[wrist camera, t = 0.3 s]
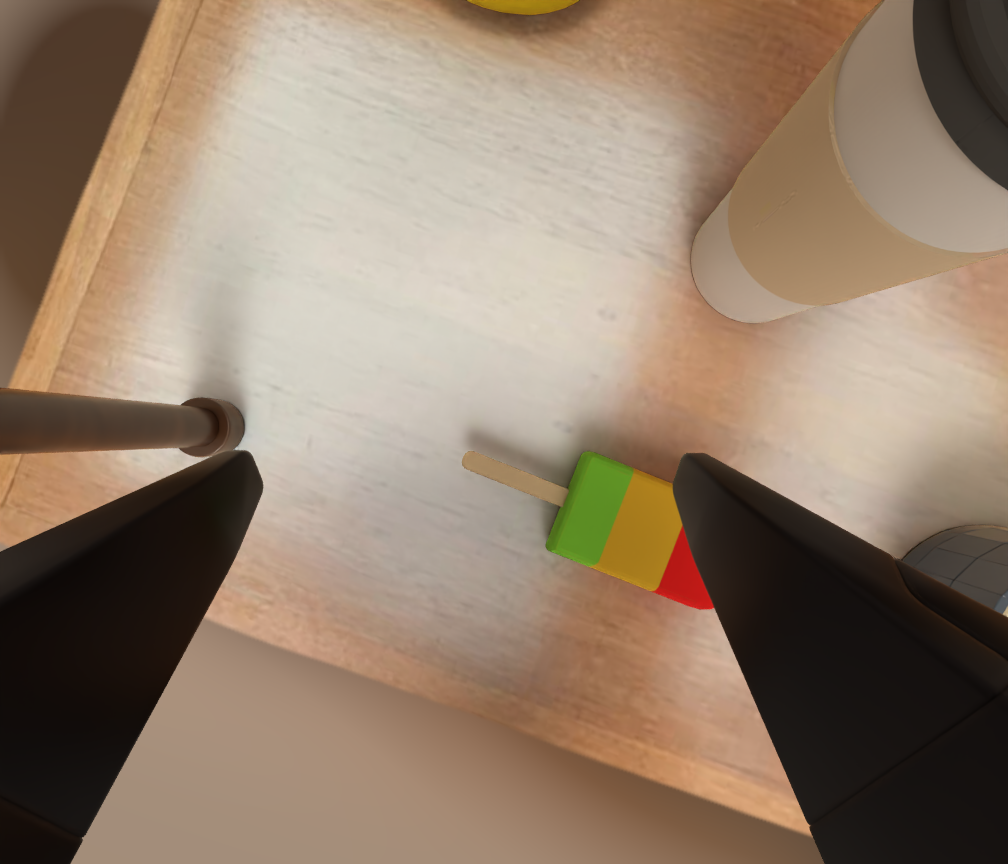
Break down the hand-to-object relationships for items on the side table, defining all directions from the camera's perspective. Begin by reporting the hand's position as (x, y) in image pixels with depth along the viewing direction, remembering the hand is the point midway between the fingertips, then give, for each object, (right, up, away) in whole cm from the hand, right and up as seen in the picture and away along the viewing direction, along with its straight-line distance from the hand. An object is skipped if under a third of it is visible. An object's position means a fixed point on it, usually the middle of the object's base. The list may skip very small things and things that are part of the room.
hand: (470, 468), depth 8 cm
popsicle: (+6, -3, +13) cm, 15 cm away
